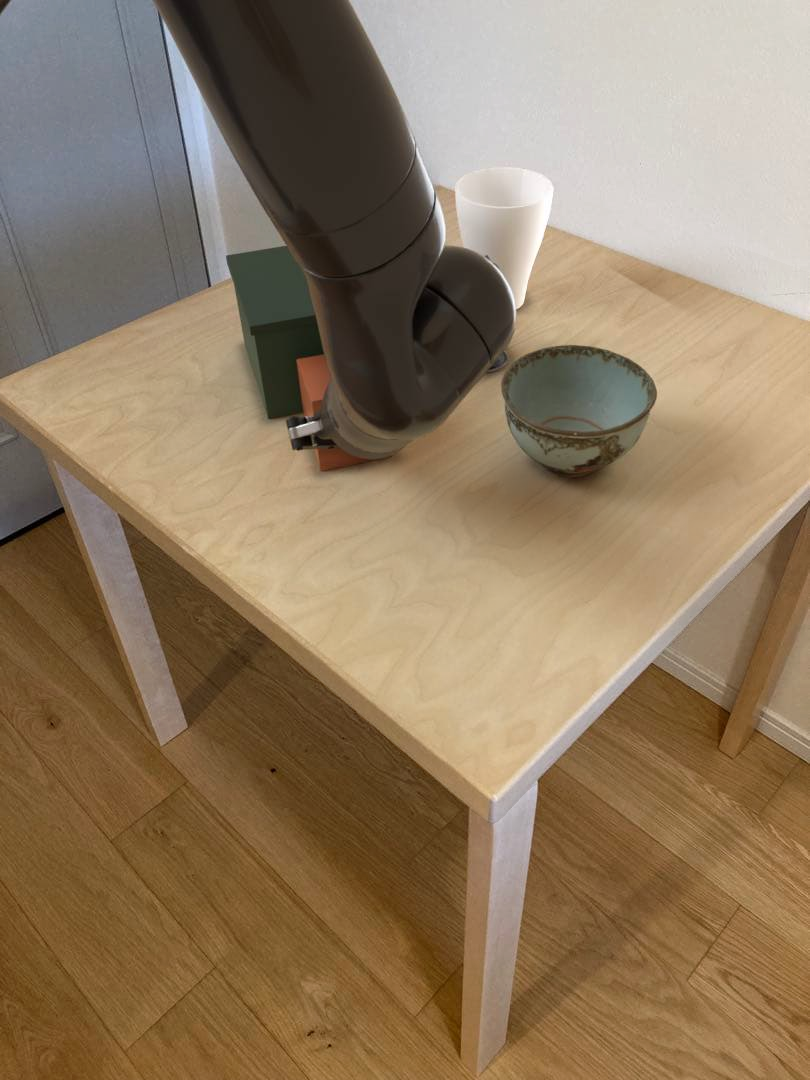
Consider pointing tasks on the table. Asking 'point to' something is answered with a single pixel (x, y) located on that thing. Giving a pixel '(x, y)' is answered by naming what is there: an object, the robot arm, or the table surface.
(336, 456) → the block
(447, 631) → the table surface
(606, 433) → the bowl
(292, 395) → the box
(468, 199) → the cup
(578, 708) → the table surface
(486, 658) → the table surface
